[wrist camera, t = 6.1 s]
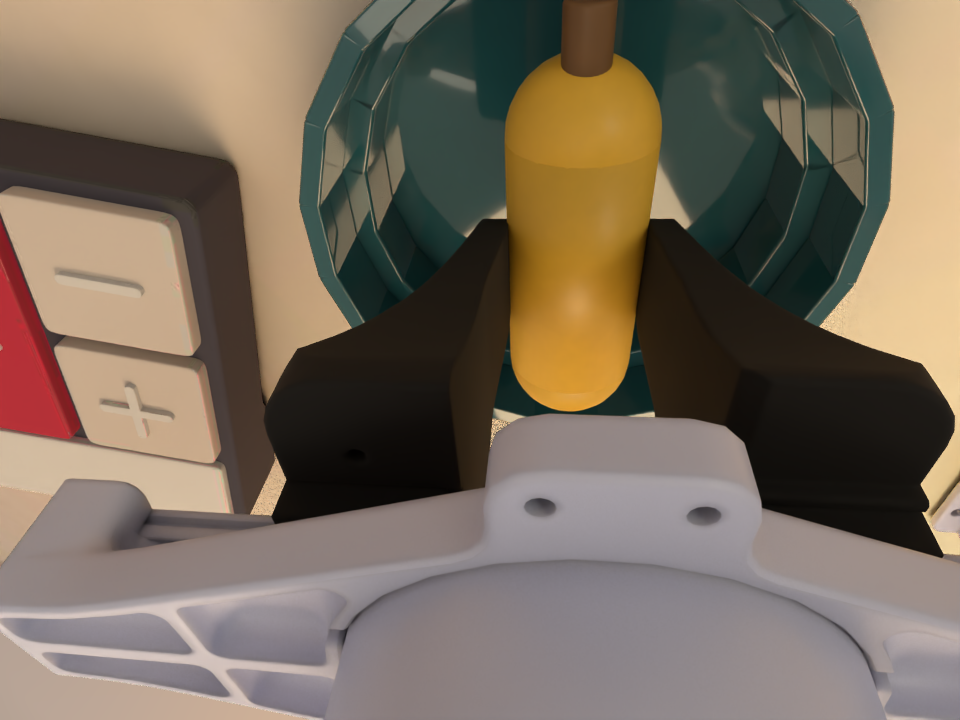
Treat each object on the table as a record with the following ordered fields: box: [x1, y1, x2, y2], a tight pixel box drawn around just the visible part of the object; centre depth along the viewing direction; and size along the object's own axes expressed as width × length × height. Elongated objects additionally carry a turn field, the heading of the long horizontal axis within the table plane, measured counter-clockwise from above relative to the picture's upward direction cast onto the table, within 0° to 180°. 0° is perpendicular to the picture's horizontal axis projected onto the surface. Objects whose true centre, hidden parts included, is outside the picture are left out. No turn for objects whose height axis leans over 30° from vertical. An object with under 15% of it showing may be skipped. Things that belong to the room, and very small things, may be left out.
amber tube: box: [505, 0, 662, 411], centre depth 13 cm, size 10×3×3 cm, turn 3°
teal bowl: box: [299, 0, 895, 423], centre depth 16 cm, size 13×13×4 cm
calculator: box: [0, 119, 275, 514], centre depth 22 cm, size 11×4×15 cm
